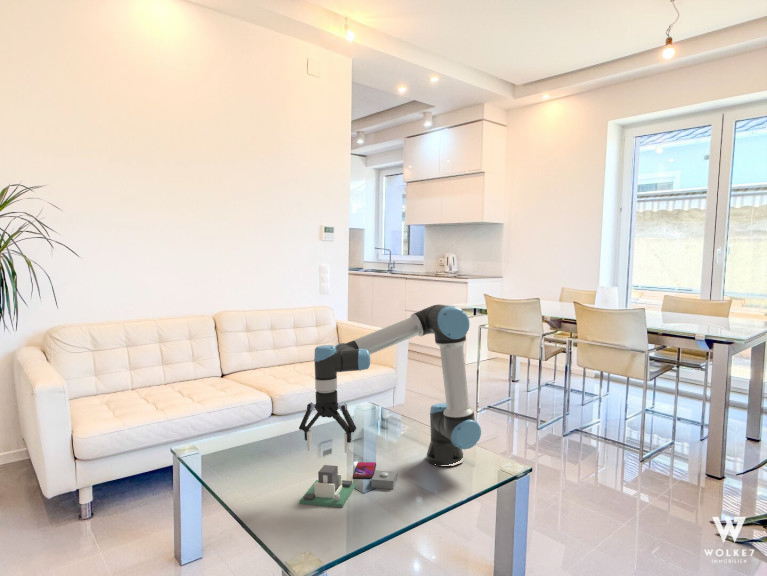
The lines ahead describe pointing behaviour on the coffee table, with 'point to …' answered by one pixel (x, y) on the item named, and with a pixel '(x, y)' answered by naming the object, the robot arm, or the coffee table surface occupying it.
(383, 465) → the coffee table surface
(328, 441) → the coffee table surface
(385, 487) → the grey button box
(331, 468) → the plug
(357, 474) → the smartphone
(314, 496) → the board
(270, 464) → the coffee table surface
